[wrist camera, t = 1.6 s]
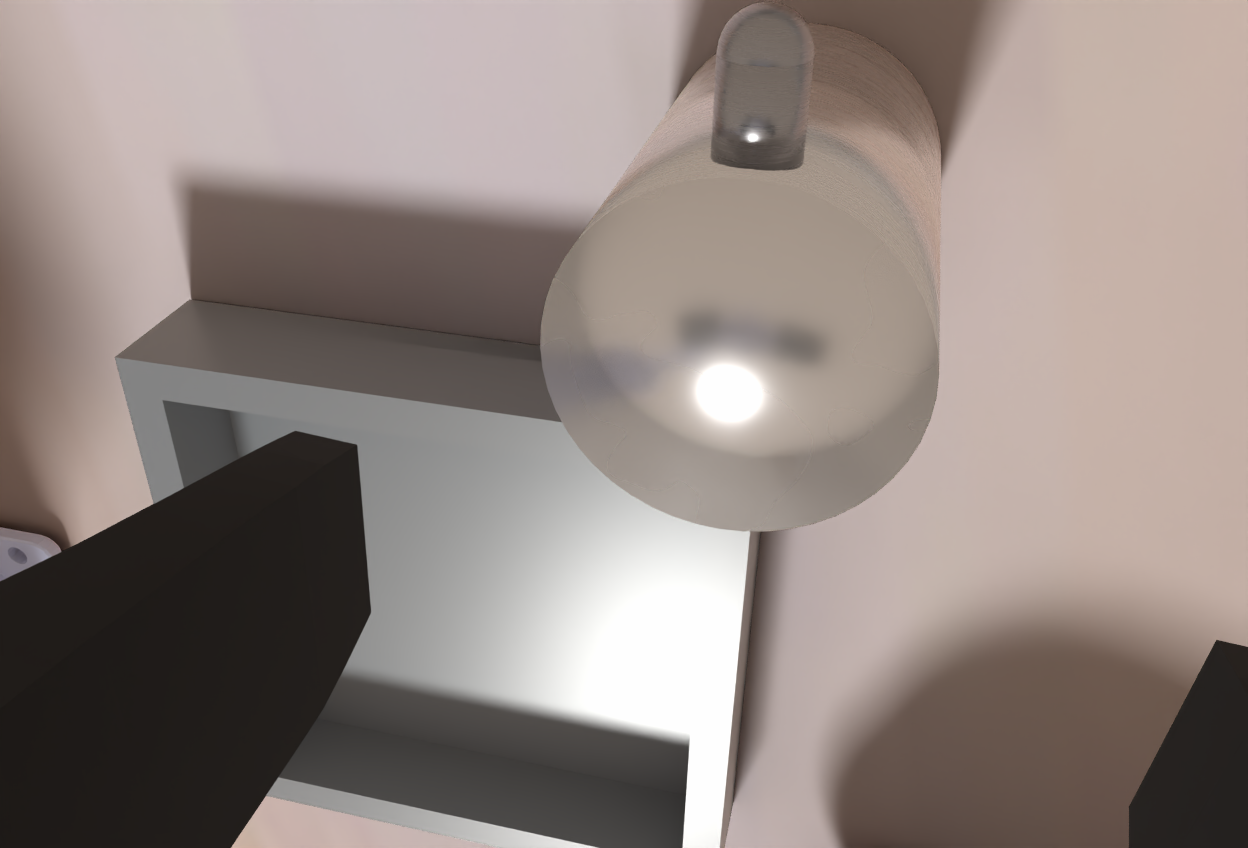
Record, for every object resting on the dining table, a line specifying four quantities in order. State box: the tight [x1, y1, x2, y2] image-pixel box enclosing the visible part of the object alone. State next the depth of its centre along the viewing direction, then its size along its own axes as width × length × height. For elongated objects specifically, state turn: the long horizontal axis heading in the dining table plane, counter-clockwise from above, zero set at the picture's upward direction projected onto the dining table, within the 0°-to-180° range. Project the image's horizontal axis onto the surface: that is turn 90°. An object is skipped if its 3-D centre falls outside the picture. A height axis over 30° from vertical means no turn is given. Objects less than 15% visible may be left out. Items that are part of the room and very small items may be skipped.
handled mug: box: [540, 1, 941, 531], centre depth 15 cm, size 4×6×7 cm
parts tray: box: [115, 300, 761, 848], centre depth 24 cm, size 12×12×2 cm
